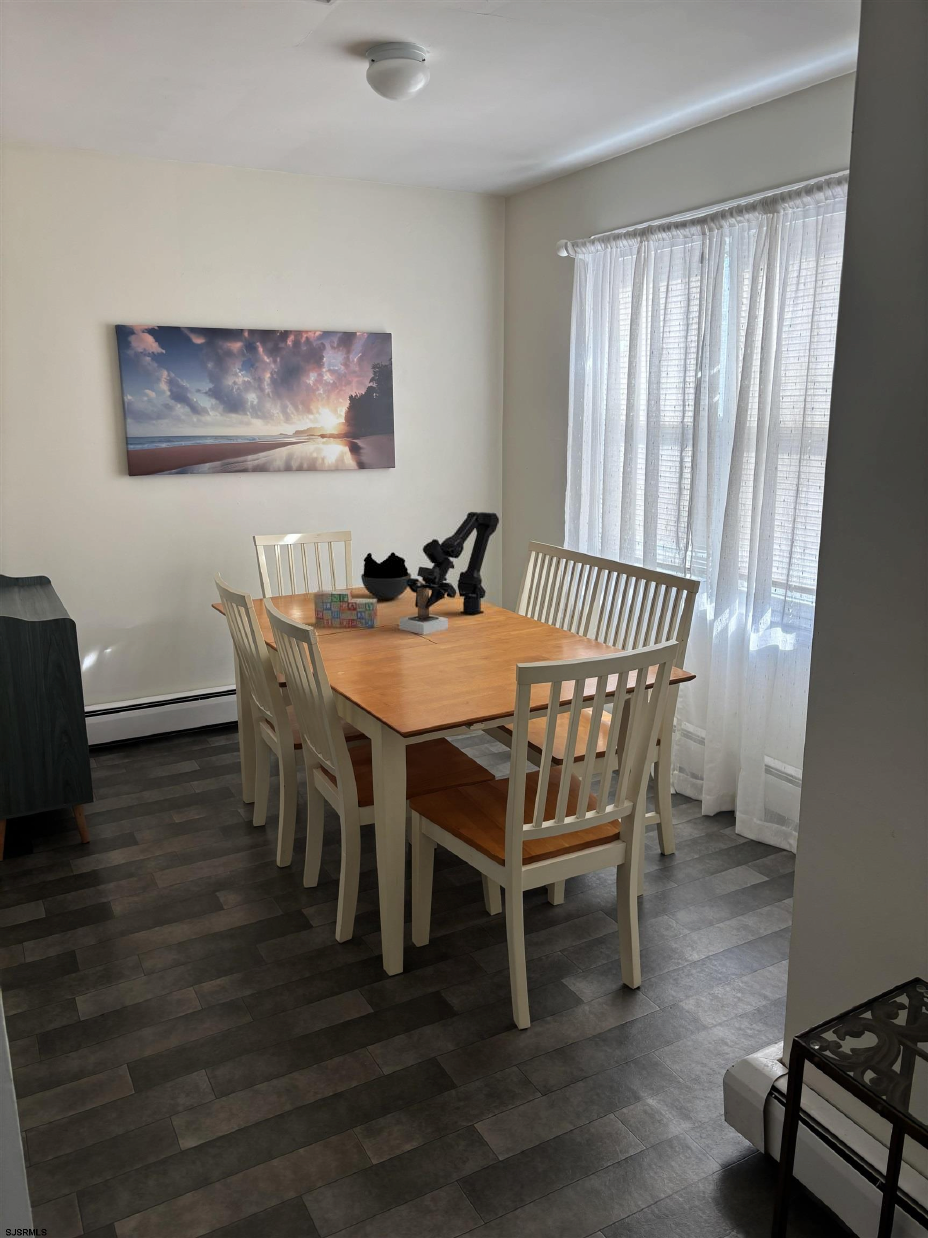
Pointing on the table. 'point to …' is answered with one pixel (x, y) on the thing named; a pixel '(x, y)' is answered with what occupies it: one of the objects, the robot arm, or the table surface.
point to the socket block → (423, 624)
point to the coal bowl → (385, 576)
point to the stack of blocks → (344, 609)
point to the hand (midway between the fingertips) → (421, 607)
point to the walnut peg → (422, 603)
